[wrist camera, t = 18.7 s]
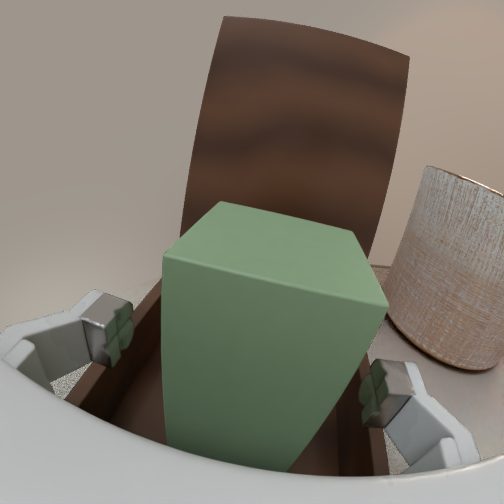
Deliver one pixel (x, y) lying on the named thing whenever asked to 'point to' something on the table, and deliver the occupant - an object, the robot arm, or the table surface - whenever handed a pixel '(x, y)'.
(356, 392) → the chest
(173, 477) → the robot arm
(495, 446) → the table surface
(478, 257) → the planter
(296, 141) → the chest lid
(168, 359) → the block
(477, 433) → the table surface
